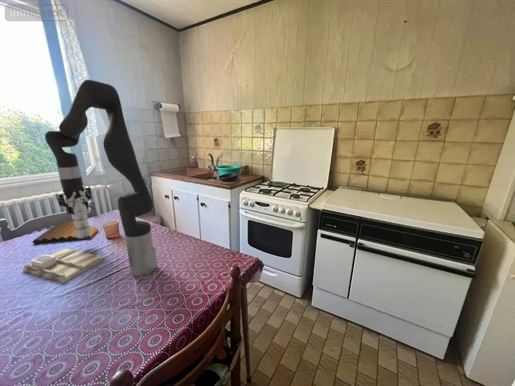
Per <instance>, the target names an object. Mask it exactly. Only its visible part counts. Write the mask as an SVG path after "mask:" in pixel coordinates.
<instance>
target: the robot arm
mask: <svg viewBox="0 0 515 386" xmlns="http://www.w3.org/2000/svg"><path fill="white" fill-rule="evenodd" d="M91 108H94V109H100V110H105V112H106V115H107V119H108V127H107V130H106V132H105V134H104V138H103V143H102V145H103V149H104V152H105V155H106V158H107V160H108V162H109V164H110V165H111V166H112V168H114V169H115V170H116V171H117V172H119V173H120V174H121V175H123V176H124V178H126V179H127V180H128V182H129V183H130V185H131V186H132V189H133V191H134V192H130V193H127V194H123V195H120V196H119V197H118V200H117V207H118V212H119V216H120V220H121V225H122V229H123V232H124V237H125V238H124V239H125V244H126V245H125V246H126V249H127V257H128V262H129V268H130V274H131V275H133V276H135V277H141V276H149V275H150V274H151V273H152V272H154V270H156V269H157V268H158V260H157V259H158V258H157V252H156V247H154V245H153V235H152V228H151V223H150V222H148V221H145V220H137V219H136V218H138V217H140V216H143V215H147V214H149V213H151V212H152V211H153V209H154V203H153V199H152V196H151V194H150V192H149V189H148V187H147V185H146V183H145V180H144V178H143V175H142V172H141V169H140V166H139V163H138V160H137V157H136V153H135V149H134V146H133V144H132V141H131V137H130V136H129V132H128V129H127V125H126V122H125V116H124V112H123V108H122V103H121V99H120V95H119V93H118V91H117V89H116V88H115V86H113V85H111V84H108V83H104V82H101V81H97V80H93V79H84V80H83V81H82V82H81V83H80V85H79V86H78V88H77V91H76V93H75V95H74V98H73V101H72V104H71V106H70V109H69V111H68V112H67V113H66V115H65V117H64V118H63V119H62V120H61V122H60V124H59V125H58V129H59V130H58V129H57V130H56V129H55V130H54V129H53V130H52V129H51V130H47V131H46V132H45V135H44V139H45V142H46V144H47V145H48V147H49V149H50V151H51V152H52V154H53V156H54V157H55V160H56V164H57V165H56V166H57V170H58V172H57V173H58V176H59V181H60V184H61V188H62V192H60V193H55V198H56V201H57V203H58V205H59V207H64V208H65V210H66V211H65V212H66V214H68V215H71V214H73V210H72V206H71V204H72V202H73V200H74V199H75V198H79V197H81V202H82V203H83V204H84V205H85V206H86V208H87V210H89V208H90V207H89V201H90V200H92V198H93V197H92V188H91V186H84V183H83V177H82V173H81V169H80V166H79V162H78V157H77V154H75V153H74V152H69V151H66V150H64V149H63V148H72V147H75V146H77V145H78V143H79V140H80V136H81V134H82V133H83V132H84V131H85V129H87V126H88V122H89V121H88V116H87V111H88V110H89V109H91ZM155 268H156V269H155Z"/></svg>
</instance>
